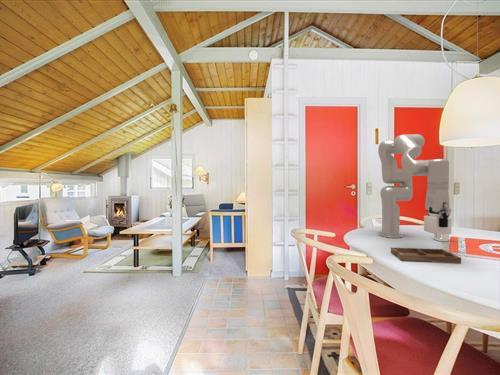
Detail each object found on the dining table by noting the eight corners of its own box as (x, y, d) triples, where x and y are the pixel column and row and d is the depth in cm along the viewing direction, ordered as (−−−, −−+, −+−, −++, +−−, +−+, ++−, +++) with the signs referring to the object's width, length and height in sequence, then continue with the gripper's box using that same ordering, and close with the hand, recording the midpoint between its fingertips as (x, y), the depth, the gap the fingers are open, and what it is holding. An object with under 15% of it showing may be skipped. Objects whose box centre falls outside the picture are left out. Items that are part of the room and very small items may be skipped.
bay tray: (390, 252, 116) (390, 247, 116) (442, 254, 112) (443, 249, 112) (402, 261, 104) (402, 255, 104) (460, 263, 100) (461, 257, 100)
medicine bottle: (451, 234, 103) (452, 206, 102) (435, 234, 103) (435, 207, 102) (438, 230, 110) (439, 205, 109) (423, 230, 110) (423, 205, 109)
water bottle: (451, 242, 132) (452, 198, 131) (437, 241, 133) (438, 198, 132) (444, 239, 139) (445, 197, 138) (431, 238, 140) (431, 197, 139)
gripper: (418, 186, 115) (417, 221, 115) (440, 187, 98) (440, 229, 98) (435, 185, 114) (434, 221, 114) (461, 187, 96) (460, 229, 97)
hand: (437, 225), depth 106 cm, fingers closed on medicine bottle, 7 cm apart
